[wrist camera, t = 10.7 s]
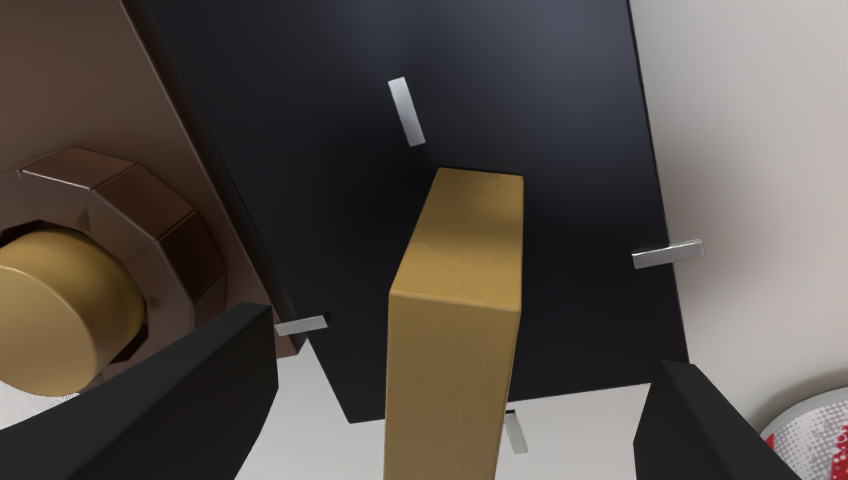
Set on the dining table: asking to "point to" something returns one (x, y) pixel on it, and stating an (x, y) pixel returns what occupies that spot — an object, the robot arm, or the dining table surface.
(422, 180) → the plate
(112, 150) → the block
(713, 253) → the dining table surface
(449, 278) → the tan block
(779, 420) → the soda can
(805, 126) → the dining table surface
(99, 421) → the robot arm
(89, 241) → the button
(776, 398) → the dining table surface
